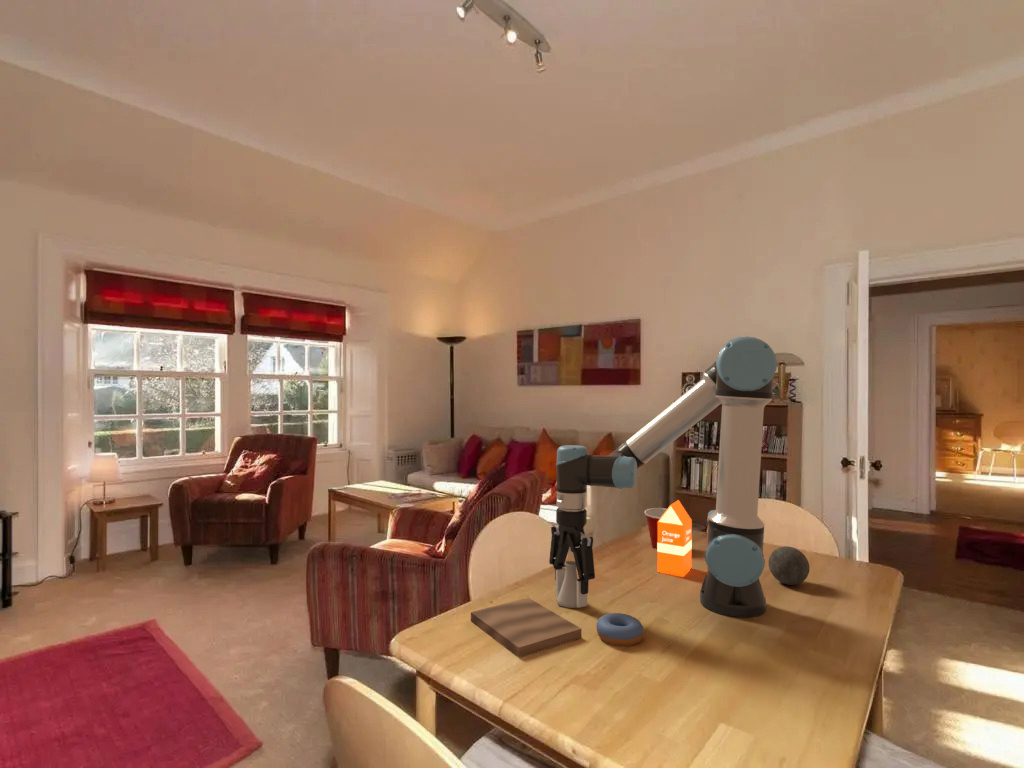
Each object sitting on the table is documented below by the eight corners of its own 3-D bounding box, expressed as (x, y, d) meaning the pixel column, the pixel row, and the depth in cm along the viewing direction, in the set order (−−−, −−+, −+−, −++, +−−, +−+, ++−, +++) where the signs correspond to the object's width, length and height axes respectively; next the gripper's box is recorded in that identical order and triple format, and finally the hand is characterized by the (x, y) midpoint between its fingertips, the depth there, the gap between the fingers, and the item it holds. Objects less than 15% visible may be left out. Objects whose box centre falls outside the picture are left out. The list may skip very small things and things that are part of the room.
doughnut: (586, 630, 120) (588, 610, 120) (624, 625, 124) (627, 605, 124) (611, 655, 111) (614, 633, 111) (652, 649, 115) (654, 628, 115)
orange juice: (692, 568, 162) (692, 500, 162) (683, 577, 155) (684, 506, 155) (665, 563, 166) (665, 497, 166) (656, 572, 159) (656, 503, 159)
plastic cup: (641, 550, 180) (641, 513, 180) (646, 541, 190) (646, 506, 190) (675, 553, 176) (676, 516, 176) (679, 544, 186) (679, 509, 186)
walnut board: (581, 638, 117) (581, 628, 117) (518, 657, 108) (518, 647, 108) (528, 606, 134) (528, 597, 134) (470, 620, 125) (470, 612, 125)
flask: (584, 610, 132) (584, 568, 132) (554, 607, 133) (554, 566, 133) (586, 598, 139) (586, 559, 139) (558, 596, 140) (558, 557, 140)
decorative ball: (812, 592, 144) (812, 554, 144) (770, 587, 147) (770, 550, 147) (805, 579, 153) (805, 544, 153) (766, 575, 156) (766, 540, 156)
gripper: (535, 502, 143) (534, 590, 142) (586, 518, 125) (586, 618, 125) (558, 499, 147) (557, 584, 146) (611, 514, 129) (610, 611, 129)
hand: (571, 600), depth 136 cm, fingers closed on flask, 8 cm apart
